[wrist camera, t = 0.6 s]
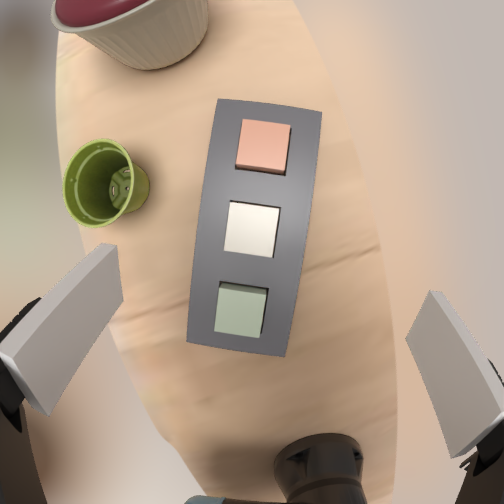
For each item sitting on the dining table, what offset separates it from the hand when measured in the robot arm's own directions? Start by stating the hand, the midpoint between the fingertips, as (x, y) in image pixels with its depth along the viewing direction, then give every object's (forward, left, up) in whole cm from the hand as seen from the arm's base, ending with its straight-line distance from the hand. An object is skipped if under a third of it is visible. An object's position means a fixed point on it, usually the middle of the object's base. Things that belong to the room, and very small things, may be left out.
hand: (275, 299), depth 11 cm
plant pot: (+5, +18, -24) cm, 31 cm away
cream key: (+2, +2, -22) cm, 22 cm away
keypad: (+2, +2, -24) cm, 24 cm away
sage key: (-7, +2, -22) cm, 23 cm away
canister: (+28, +18, -24) cm, 41 cm away
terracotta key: (+11, +2, -21) cm, 24 cm away
